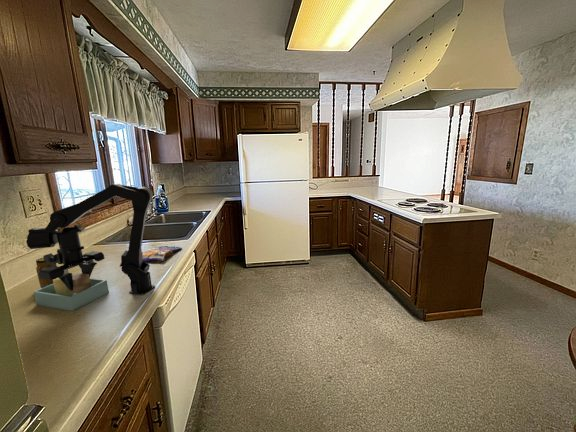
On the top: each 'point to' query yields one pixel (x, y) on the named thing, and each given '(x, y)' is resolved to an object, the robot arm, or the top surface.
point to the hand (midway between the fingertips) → (78, 286)
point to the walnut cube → (80, 283)
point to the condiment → (42, 265)
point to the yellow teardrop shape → (61, 288)
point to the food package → (159, 253)
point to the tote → (73, 302)
